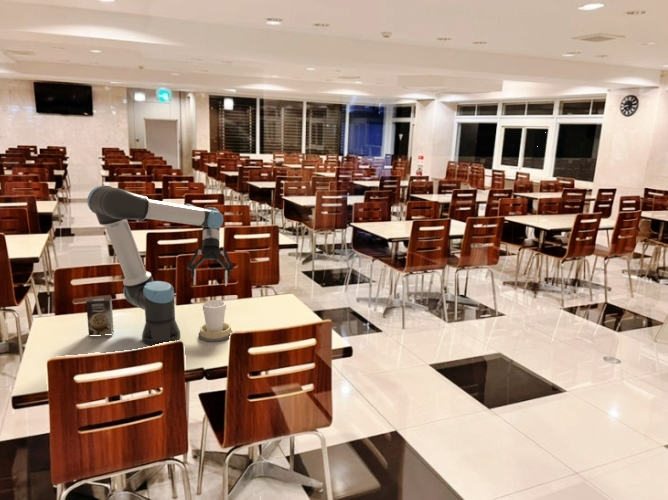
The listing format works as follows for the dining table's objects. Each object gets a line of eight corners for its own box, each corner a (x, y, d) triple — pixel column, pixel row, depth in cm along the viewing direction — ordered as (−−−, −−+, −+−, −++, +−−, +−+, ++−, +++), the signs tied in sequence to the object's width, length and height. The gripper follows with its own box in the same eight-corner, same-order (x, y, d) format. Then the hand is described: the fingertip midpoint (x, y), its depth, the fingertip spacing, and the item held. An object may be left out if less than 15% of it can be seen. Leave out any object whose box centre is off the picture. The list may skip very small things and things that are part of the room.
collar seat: (199, 343, 212) (199, 335, 211) (197, 330, 225) (197, 322, 224) (234, 340, 216) (234, 331, 216) (230, 327, 229) (230, 320, 229)
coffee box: (88, 338, 214) (85, 301, 210) (91, 333, 220) (88, 296, 216) (112, 337, 216) (109, 300, 213) (114, 331, 222) (111, 295, 219)
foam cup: (229, 329, 225) (228, 300, 222) (222, 337, 216) (221, 308, 213) (207, 327, 225) (206, 299, 222) (200, 336, 217) (199, 306, 213)
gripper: (237, 244, 243) (237, 287, 235) (182, 242, 236) (180, 286, 228) (239, 238, 237) (240, 282, 229) (182, 235, 229) (181, 281, 221)
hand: (210, 284), depth 228 cm, fingers open, 13 cm apart
